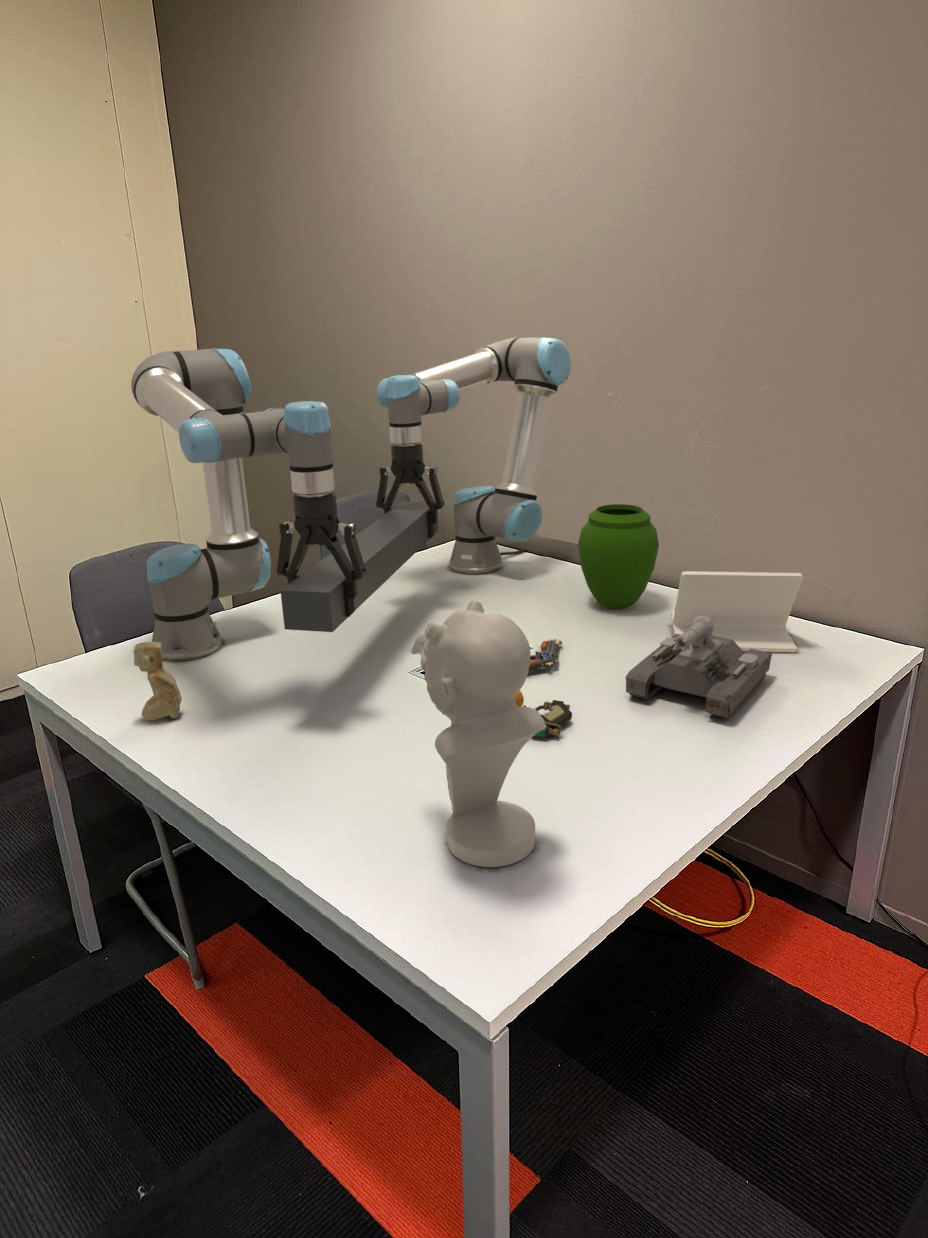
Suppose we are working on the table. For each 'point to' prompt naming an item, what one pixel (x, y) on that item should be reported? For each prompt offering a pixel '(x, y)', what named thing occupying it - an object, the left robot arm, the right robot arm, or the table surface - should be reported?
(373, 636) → the table surface
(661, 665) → the toy
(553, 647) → the toy gun
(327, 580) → the long gray bar
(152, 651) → the sculpture
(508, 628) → the bust sculpture
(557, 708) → the spray gun
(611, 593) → the vase
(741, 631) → the tablet stand
